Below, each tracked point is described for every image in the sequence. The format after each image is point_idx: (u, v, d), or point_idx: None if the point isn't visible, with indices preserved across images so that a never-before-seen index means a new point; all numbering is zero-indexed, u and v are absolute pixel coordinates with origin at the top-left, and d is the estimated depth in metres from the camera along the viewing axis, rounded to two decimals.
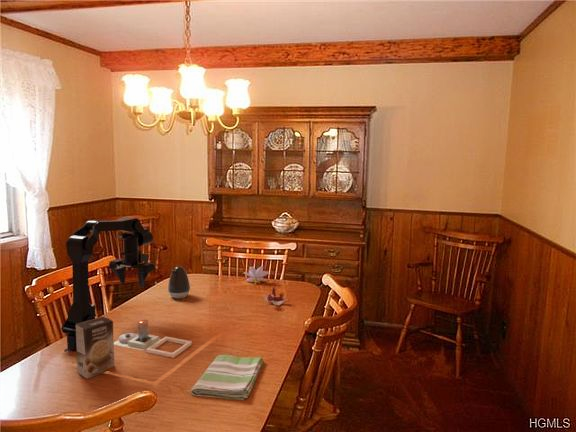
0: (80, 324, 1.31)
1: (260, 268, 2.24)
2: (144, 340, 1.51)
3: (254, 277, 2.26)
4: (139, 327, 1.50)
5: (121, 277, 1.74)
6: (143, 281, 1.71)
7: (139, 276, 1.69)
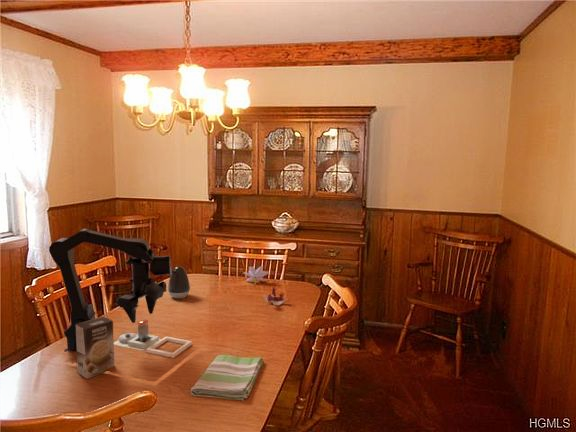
0: (80, 324, 1.31)
1: (260, 268, 2.24)
2: (144, 340, 1.51)
3: (254, 277, 2.26)
4: (139, 327, 1.50)
5: (148, 304, 1.56)
6: (131, 316, 1.46)
7: None
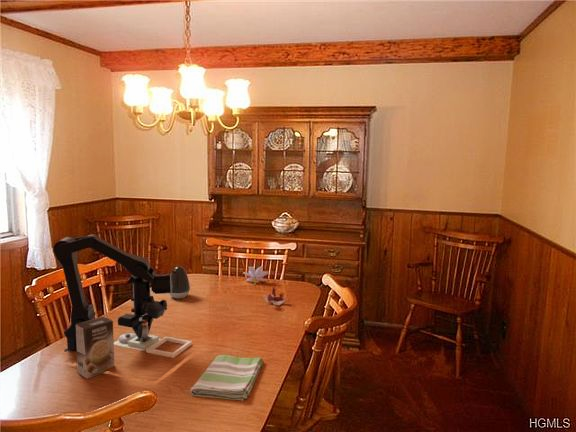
0: (80, 324, 1.31)
1: (259, 268, 2.24)
2: (144, 340, 1.51)
3: (254, 277, 2.26)
4: None
5: None
6: (137, 332, 1.50)
7: None
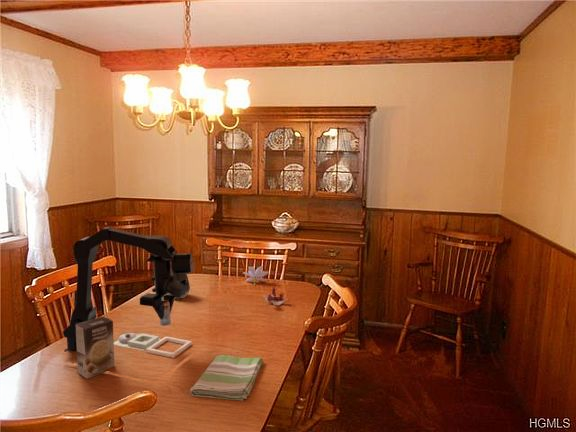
0: (80, 324, 1.31)
1: (259, 268, 2.24)
2: (166, 320, 1.47)
3: (253, 276, 2.26)
4: None
5: None
6: (159, 312, 1.45)
7: None
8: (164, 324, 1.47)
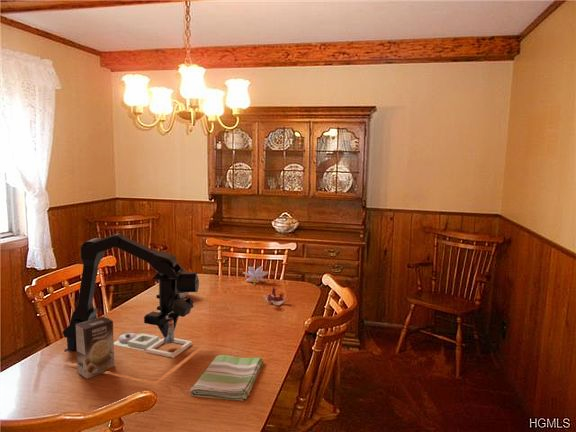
0: (80, 324, 1.31)
1: (259, 268, 2.24)
2: (170, 339, 1.47)
3: (253, 276, 2.26)
4: None
5: None
6: (163, 330, 1.45)
7: None
8: (168, 342, 1.47)
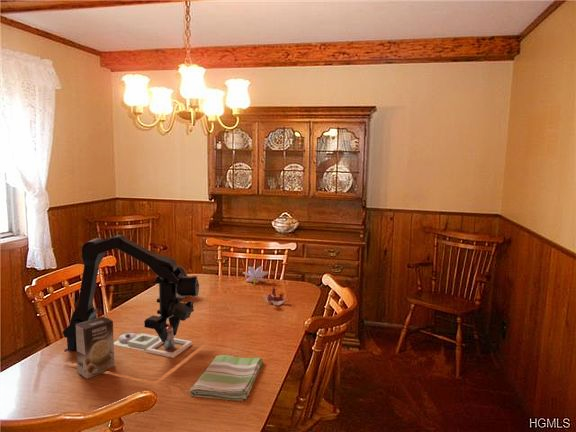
0: (80, 324, 1.31)
1: (259, 268, 2.24)
2: (170, 346, 1.47)
3: (253, 277, 2.26)
4: None
5: None
6: (161, 335, 1.45)
7: None
8: (168, 350, 1.47)
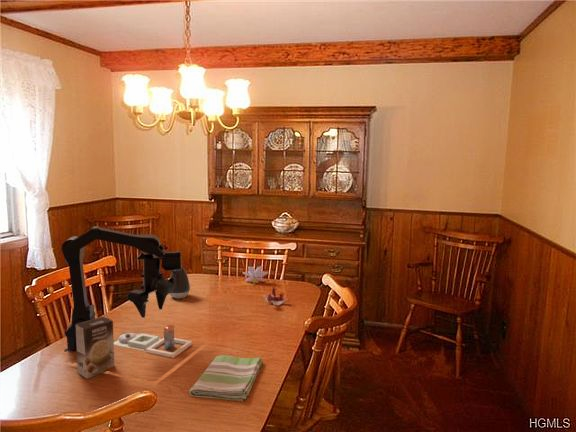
0: (80, 324, 1.31)
1: (259, 268, 2.24)
2: (170, 346, 1.47)
3: (253, 277, 2.26)
4: (165, 333, 1.47)
5: (158, 300, 1.57)
6: (141, 311, 1.48)
7: None
8: None
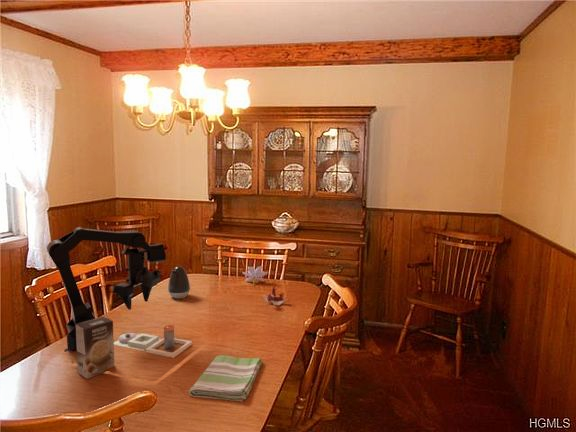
0: (80, 324, 1.31)
1: (258, 268, 2.24)
2: (170, 346, 1.47)
3: (252, 276, 2.26)
4: (165, 333, 1.47)
5: (143, 292, 1.63)
6: (127, 303, 1.54)
7: None
8: None
